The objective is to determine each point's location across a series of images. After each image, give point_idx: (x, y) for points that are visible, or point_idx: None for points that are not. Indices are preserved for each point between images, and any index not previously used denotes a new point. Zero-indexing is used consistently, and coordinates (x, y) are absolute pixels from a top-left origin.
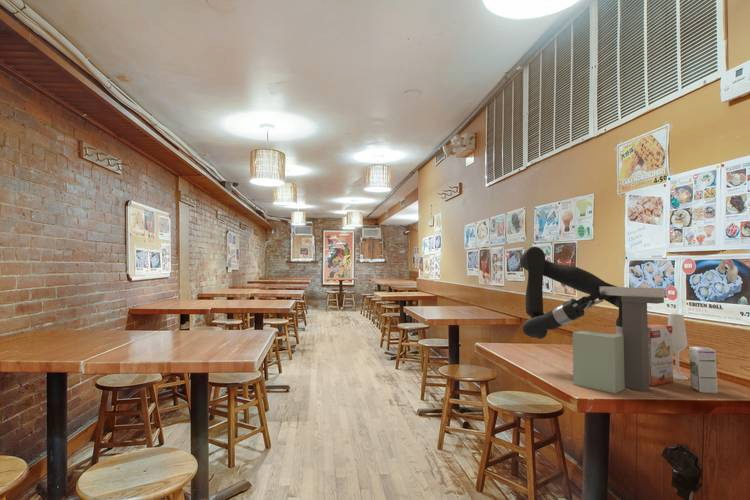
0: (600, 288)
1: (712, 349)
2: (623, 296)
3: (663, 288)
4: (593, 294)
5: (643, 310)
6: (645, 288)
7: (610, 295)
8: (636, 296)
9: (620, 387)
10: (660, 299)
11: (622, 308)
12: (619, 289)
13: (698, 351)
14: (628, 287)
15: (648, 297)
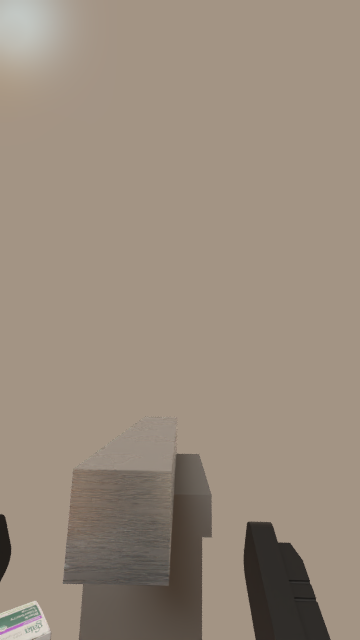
0: (169, 491)
1: (30, 604)
2: (209, 492)
3: (160, 417)
4: (313, 594)
5: None
6: (176, 424)
7: (3, 565)
8: (181, 473)
9: None
10: None
11: (200, 589)
12: (174, 454)
13: (50, 634)
14: (160, 431)
15: (200, 461)
